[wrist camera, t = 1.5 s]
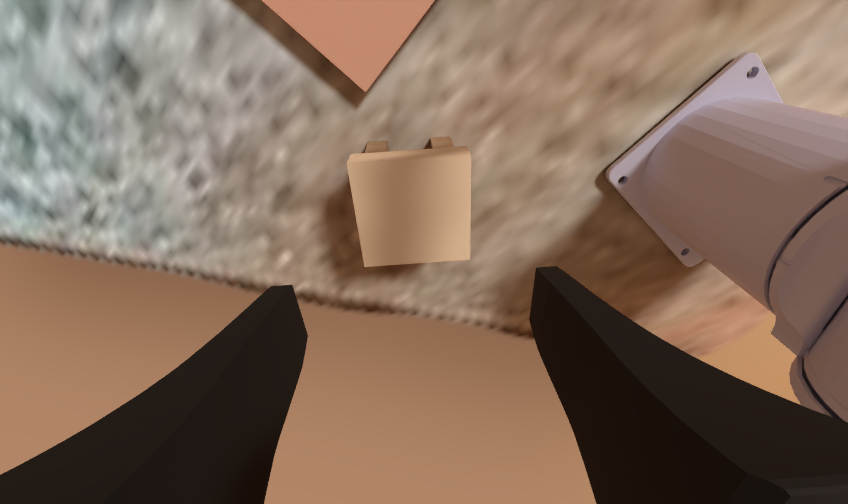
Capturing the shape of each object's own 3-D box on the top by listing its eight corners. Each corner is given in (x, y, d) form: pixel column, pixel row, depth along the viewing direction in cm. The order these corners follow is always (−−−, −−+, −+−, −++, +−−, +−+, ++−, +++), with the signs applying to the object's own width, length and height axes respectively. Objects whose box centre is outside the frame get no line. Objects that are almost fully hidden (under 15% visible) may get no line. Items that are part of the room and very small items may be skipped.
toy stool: (457, 128, 19) (471, 155, 15) (458, 216, 21) (470, 259, 17) (358, 134, 19) (346, 164, 15) (372, 222, 21) (364, 267, 17)
